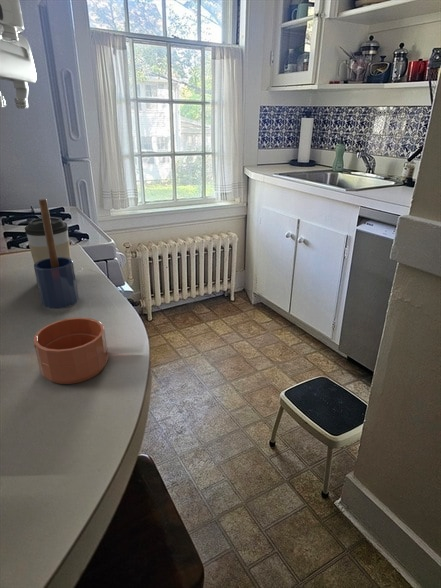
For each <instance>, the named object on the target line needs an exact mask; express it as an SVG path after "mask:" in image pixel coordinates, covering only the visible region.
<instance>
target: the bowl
mask: <svg viewBox="0 0 441 588" xmlns="http://www.w3.org/2000/svg"><path fill="white" fill-rule="evenodd" d="M33 346H34V350H35V356H36V360H37V363H38V367H39V372H40V373H41V375H42V376H43V377H44V378H46V379H47V380H48V381H50V382H52V383H55V384H60V385H70V384H77V383H82V382H84V381H88V380H90V379H92V378H94V377H95V376H97V375H98V374H100V373H101V372H102V370H103V369H104V368H105V366H107V363H108V360H109V353H108V344H107V337H106V330H105V326H104V323H102V322H101V321H100V320H98V319H94V318H90V317H69V318H64V319H60V320H56V321H53V322H51V323H49V324H47V325H45V326H44V327H42V328H41V329H38V331H37V332H36V334H34V336H33Z"/></svg>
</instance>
